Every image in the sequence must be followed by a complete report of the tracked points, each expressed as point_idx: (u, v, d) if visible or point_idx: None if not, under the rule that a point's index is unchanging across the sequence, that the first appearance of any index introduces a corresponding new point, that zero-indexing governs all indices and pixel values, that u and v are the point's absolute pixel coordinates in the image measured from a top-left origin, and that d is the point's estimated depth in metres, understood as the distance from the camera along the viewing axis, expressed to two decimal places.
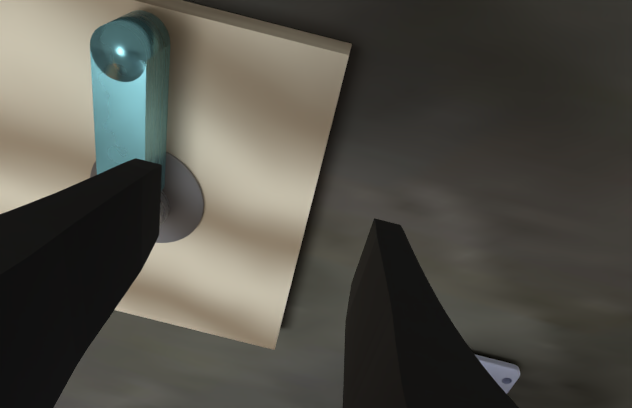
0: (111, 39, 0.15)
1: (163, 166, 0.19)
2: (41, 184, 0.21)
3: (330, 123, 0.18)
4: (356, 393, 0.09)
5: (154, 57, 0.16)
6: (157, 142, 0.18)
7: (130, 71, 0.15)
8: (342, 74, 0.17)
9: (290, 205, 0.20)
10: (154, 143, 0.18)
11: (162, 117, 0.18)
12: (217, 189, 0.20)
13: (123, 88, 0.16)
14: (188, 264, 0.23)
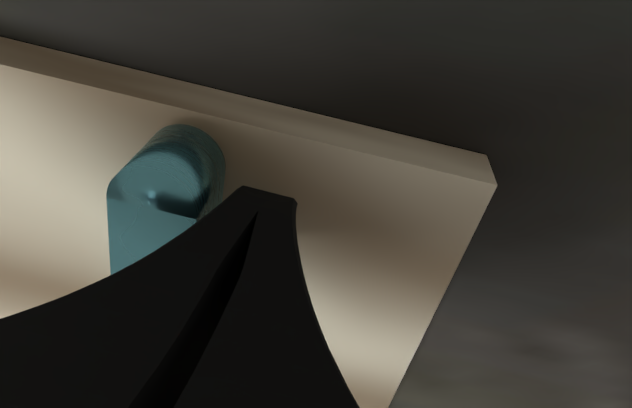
0: (141, 189, 0.09)
1: None
2: None
3: (453, 269, 0.12)
4: None
5: (207, 204, 0.10)
6: None
7: (170, 231, 0.10)
8: (482, 209, 0.11)
9: (380, 361, 0.15)
10: None
11: None
12: None
13: None
14: None
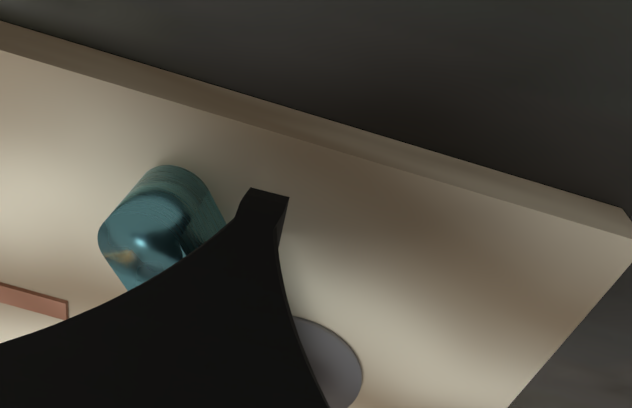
0: (122, 236, 0.10)
1: None
2: None
3: (581, 317, 0.13)
4: None
5: (191, 226, 0.10)
6: None
7: (167, 264, 0.10)
8: (626, 264, 0.12)
9: (483, 397, 0.15)
10: None
11: None
12: (384, 372, 0.15)
13: None
14: None
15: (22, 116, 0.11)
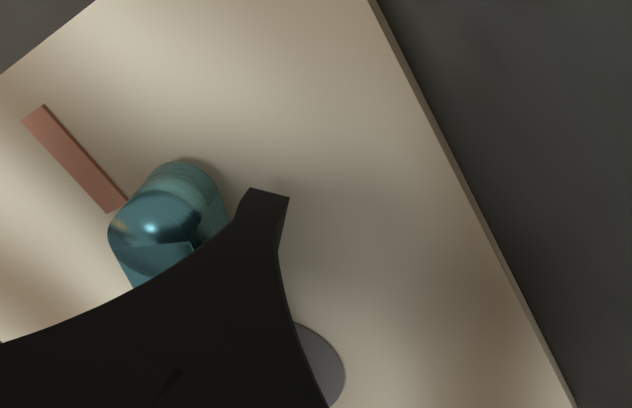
0: (133, 230, 0.10)
1: None
2: None
3: None
4: None
5: (202, 225, 0.10)
6: None
7: (175, 261, 0.10)
8: None
9: None
10: None
11: None
12: None
13: None
14: None
15: (309, 55, 0.10)
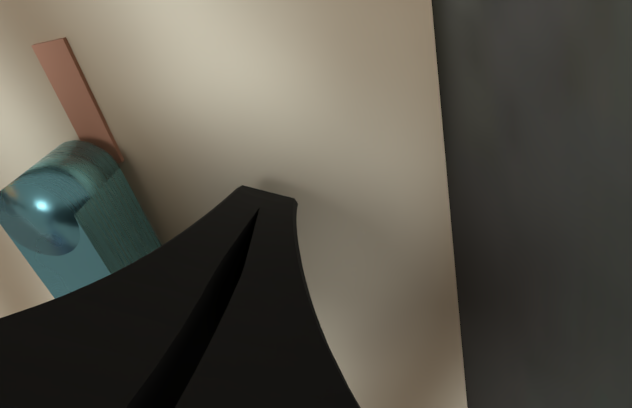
0: (18, 207, 0.10)
1: None
2: None
3: None
4: None
5: (93, 200, 0.10)
6: None
7: (65, 237, 0.10)
8: None
9: None
10: None
11: None
12: None
13: (71, 261, 0.10)
14: None
15: (363, 82, 0.10)
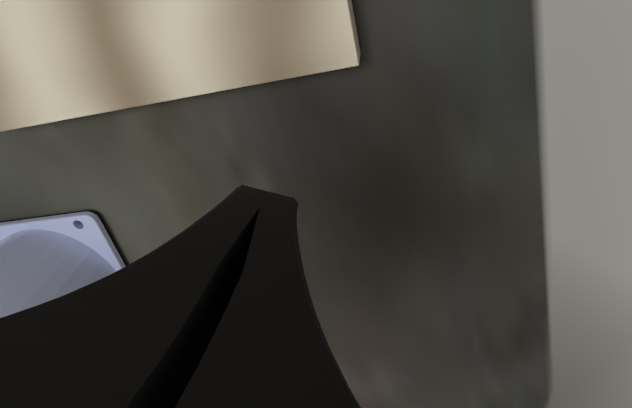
0: None
1: None
2: None
3: (286, 77, 0.17)
4: None
5: None
6: None
7: None
8: (338, 67, 0.17)
9: (175, 75, 0.18)
10: None
11: None
12: None
13: None
14: None
15: None
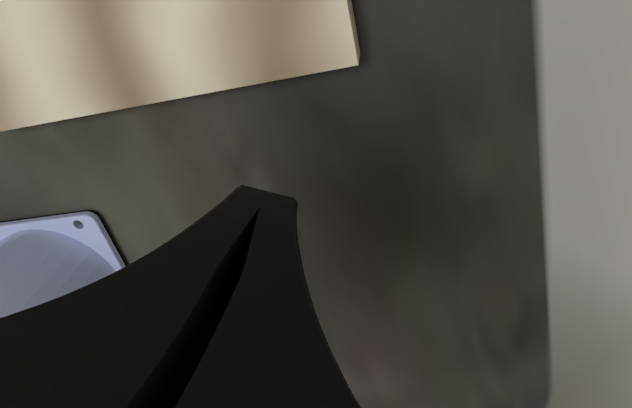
0: None
1: None
2: None
3: (285, 77, 0.17)
4: None
5: None
6: None
7: None
8: (338, 67, 0.17)
9: (175, 76, 0.18)
10: None
11: None
12: None
13: None
14: None
15: None
